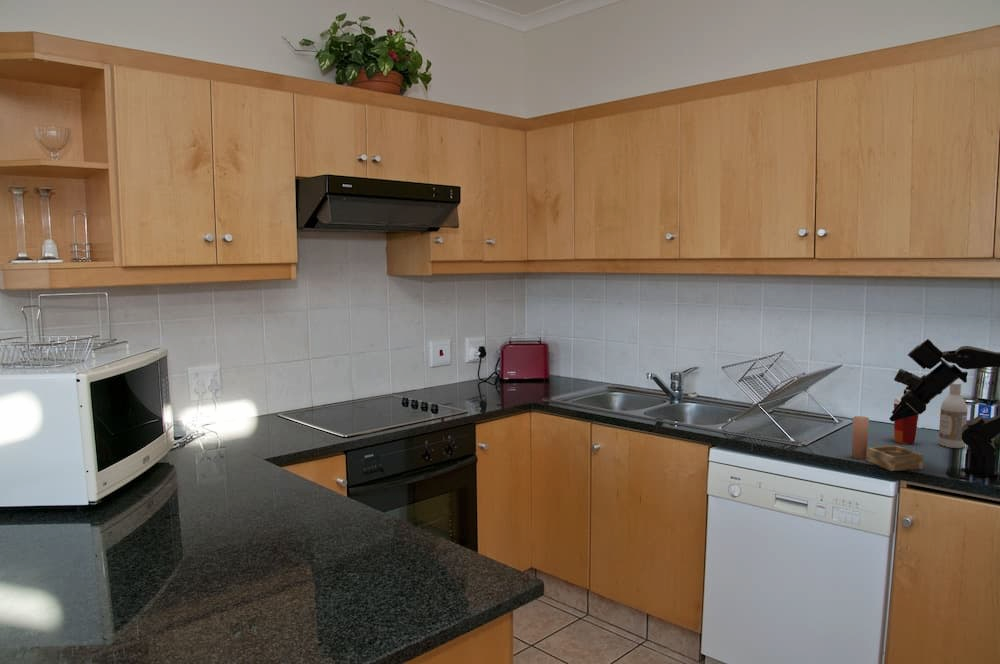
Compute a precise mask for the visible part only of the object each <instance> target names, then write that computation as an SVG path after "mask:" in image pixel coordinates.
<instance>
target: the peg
mask: <svg viewBox="0 0 1000 664" xmlns="http://www.w3.org/2000/svg"><path fill="white" fill-rule="evenodd" d="M852 421H853V422H852V423H853V424H852V439H851V458H853V459H855V458H857V459H856V460H866V459H865V458H866V451H867V447H868V442H869V437H868V436H869V423H870V421H869V417H867V416H859V415H858V416H857V415H856V416H853V420H852Z"/></svg>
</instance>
